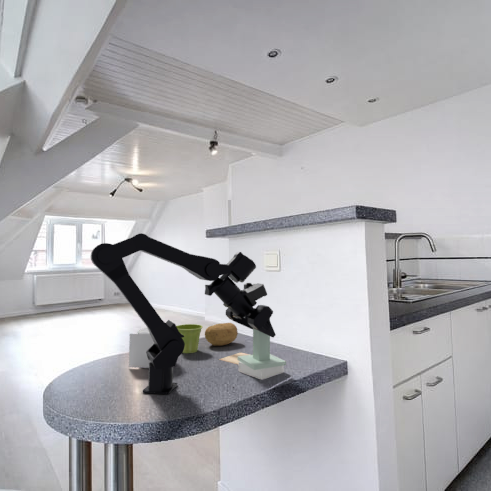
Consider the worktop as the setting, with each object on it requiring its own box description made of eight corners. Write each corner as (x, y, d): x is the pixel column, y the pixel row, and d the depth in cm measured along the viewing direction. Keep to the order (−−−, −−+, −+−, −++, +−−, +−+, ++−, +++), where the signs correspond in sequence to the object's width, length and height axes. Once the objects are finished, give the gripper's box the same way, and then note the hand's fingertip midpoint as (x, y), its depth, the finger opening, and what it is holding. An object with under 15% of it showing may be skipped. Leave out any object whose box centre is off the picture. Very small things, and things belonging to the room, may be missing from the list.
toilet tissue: (178, 360, 105) (179, 327, 106) (159, 371, 93) (160, 335, 94) (148, 357, 108) (149, 325, 108) (126, 368, 96) (127, 333, 97)
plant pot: (196, 356, 109) (197, 329, 110) (169, 354, 111) (170, 328, 111) (205, 349, 118) (206, 324, 119) (180, 347, 120) (181, 323, 121)
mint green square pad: (245, 367, 98) (245, 366, 98) (218, 360, 105) (218, 359, 105) (267, 359, 106) (267, 358, 106) (240, 353, 113) (240, 352, 113)
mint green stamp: (254, 369, 86) (254, 327, 87) (237, 359, 95) (238, 321, 96) (286, 365, 91) (286, 324, 92) (267, 355, 100) (267, 318, 101)
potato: (197, 346, 123) (198, 324, 123) (226, 340, 132) (227, 320, 133) (213, 351, 116) (214, 328, 116) (243, 345, 125) (243, 323, 126)
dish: (261, 381, 87) (261, 369, 87) (238, 372, 93) (238, 362, 93) (283, 373, 93) (283, 362, 93) (260, 366, 99) (260, 356, 100)
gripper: (266, 274, 85) (302, 316, 89) (235, 272, 101) (266, 307, 105) (238, 307, 81) (276, 349, 85) (210, 299, 97) (244, 334, 101)
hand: (265, 332), depth 94 cm, fingers open, 9 cm apart
